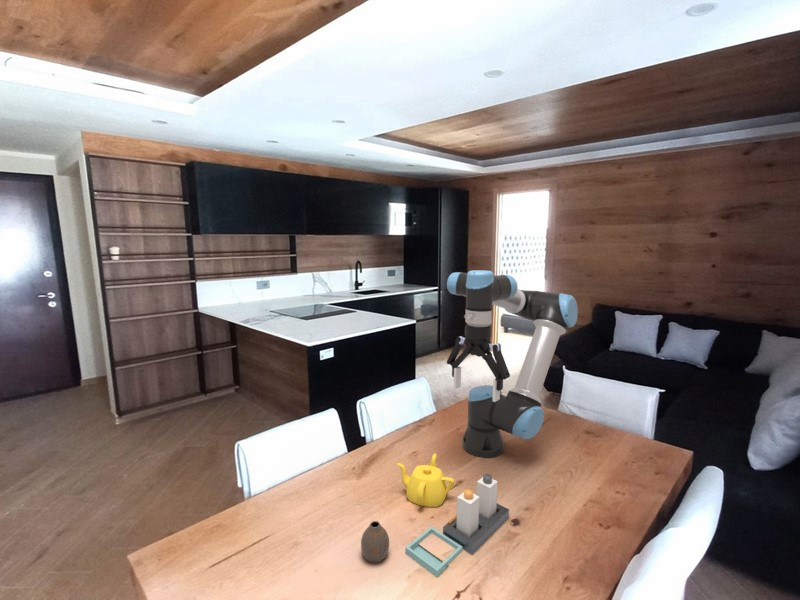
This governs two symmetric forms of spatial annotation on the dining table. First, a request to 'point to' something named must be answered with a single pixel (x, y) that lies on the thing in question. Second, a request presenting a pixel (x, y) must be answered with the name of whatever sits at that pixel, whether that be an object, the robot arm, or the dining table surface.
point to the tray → (428, 558)
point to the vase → (375, 542)
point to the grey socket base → (483, 533)
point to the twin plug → (487, 496)
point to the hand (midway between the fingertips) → (475, 393)
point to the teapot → (426, 484)
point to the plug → (467, 513)
